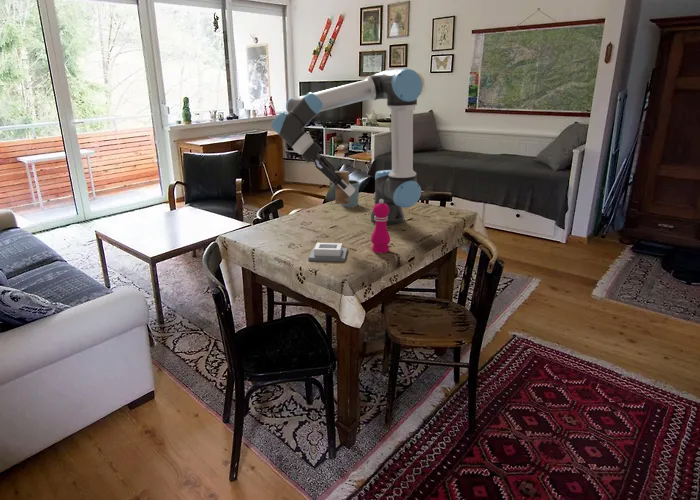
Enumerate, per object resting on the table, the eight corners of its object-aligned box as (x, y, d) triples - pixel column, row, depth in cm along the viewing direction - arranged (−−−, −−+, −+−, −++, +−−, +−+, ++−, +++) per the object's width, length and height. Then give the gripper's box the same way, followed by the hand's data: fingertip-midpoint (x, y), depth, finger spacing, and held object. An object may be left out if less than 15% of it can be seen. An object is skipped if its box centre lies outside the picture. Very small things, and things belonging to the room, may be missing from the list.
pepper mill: (369, 247, 180) (370, 196, 173) (388, 246, 181) (389, 196, 174) (372, 254, 173) (372, 201, 166) (391, 253, 174) (392, 201, 167)
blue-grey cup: (363, 204, 240) (363, 181, 235) (350, 208, 233) (350, 185, 228) (348, 201, 246) (348, 179, 242) (335, 205, 239) (334, 182, 235)
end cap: (347, 250, 177) (347, 241, 176) (344, 261, 167) (344, 251, 165) (313, 249, 178) (313, 240, 177) (308, 260, 168) (308, 251, 166)
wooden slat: (349, 202, 179) (348, 171, 175) (348, 203, 177) (348, 172, 173) (336, 201, 180) (335, 170, 175) (335, 203, 177) (334, 172, 173)
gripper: (304, 152, 180) (347, 194, 185) (296, 159, 166) (343, 205, 170) (317, 138, 178) (360, 181, 183) (310, 144, 164) (357, 191, 168)
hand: (352, 192), depth 176 cm, fingers closed on wooden slat, 2 cm apart
